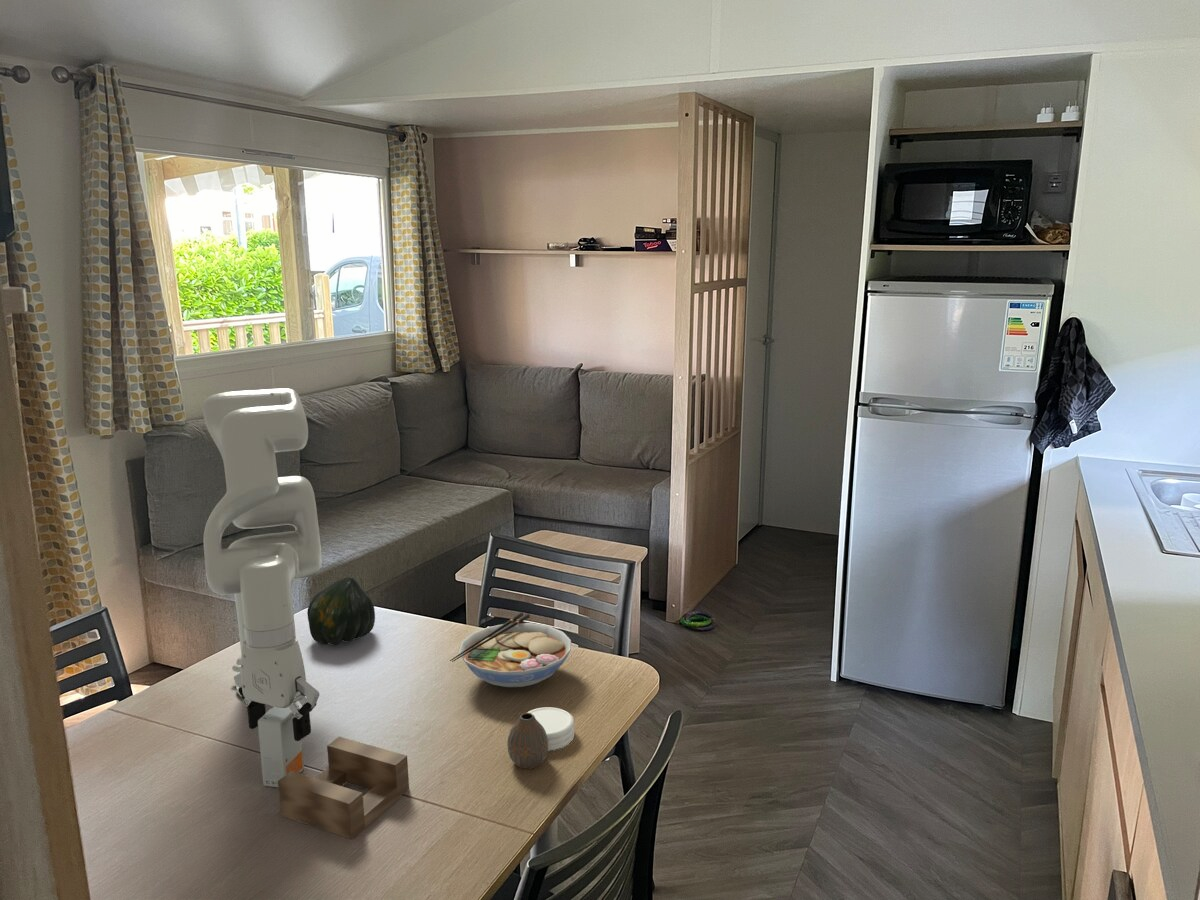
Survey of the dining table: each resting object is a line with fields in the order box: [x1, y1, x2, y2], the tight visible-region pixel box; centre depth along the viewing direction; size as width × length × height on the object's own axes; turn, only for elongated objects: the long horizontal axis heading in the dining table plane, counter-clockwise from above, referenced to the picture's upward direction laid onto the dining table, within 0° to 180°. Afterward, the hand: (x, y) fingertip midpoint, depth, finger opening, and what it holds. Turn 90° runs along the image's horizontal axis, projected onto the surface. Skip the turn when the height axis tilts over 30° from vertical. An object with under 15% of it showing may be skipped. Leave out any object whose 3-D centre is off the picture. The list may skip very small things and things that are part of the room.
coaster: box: [526, 706, 575, 752], centre depth 161 cm, size 10×10×4 cm
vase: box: [506, 712, 548, 770], centre depth 152 cm, size 7×7×9 cm
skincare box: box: [257, 704, 305, 788], centre depth 148 cm, size 6×4×12 cm
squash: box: [307, 576, 376, 646], centre depth 201 cm, size 14×15×15 cm
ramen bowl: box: [449, 612, 572, 688], centre depth 181 cm, size 25×23×8 cm
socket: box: [277, 736, 410, 840], centre depth 142 cm, size 14×14×6 cm
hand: (280, 731), depth 146 cm, fingers open, 9 cm apart
